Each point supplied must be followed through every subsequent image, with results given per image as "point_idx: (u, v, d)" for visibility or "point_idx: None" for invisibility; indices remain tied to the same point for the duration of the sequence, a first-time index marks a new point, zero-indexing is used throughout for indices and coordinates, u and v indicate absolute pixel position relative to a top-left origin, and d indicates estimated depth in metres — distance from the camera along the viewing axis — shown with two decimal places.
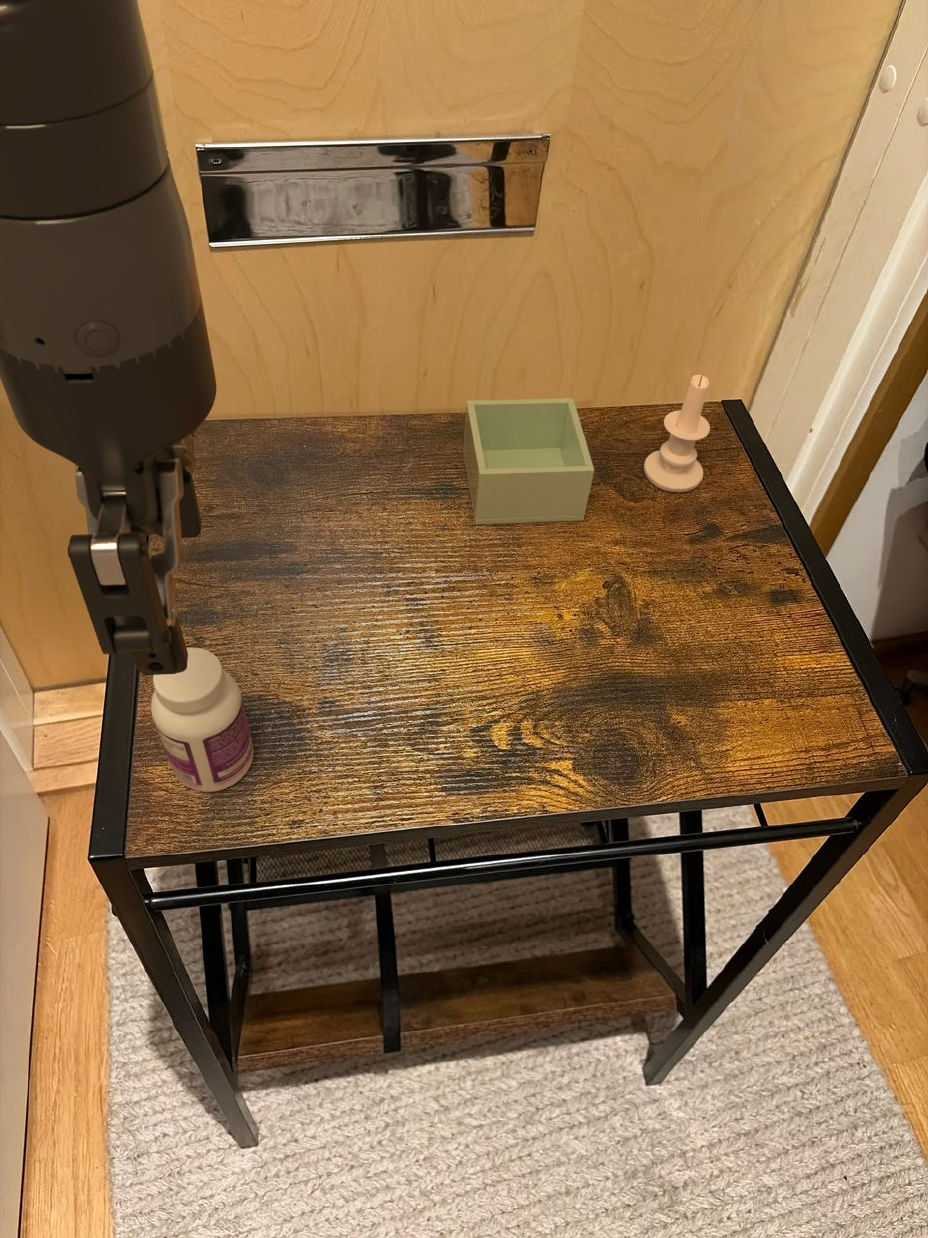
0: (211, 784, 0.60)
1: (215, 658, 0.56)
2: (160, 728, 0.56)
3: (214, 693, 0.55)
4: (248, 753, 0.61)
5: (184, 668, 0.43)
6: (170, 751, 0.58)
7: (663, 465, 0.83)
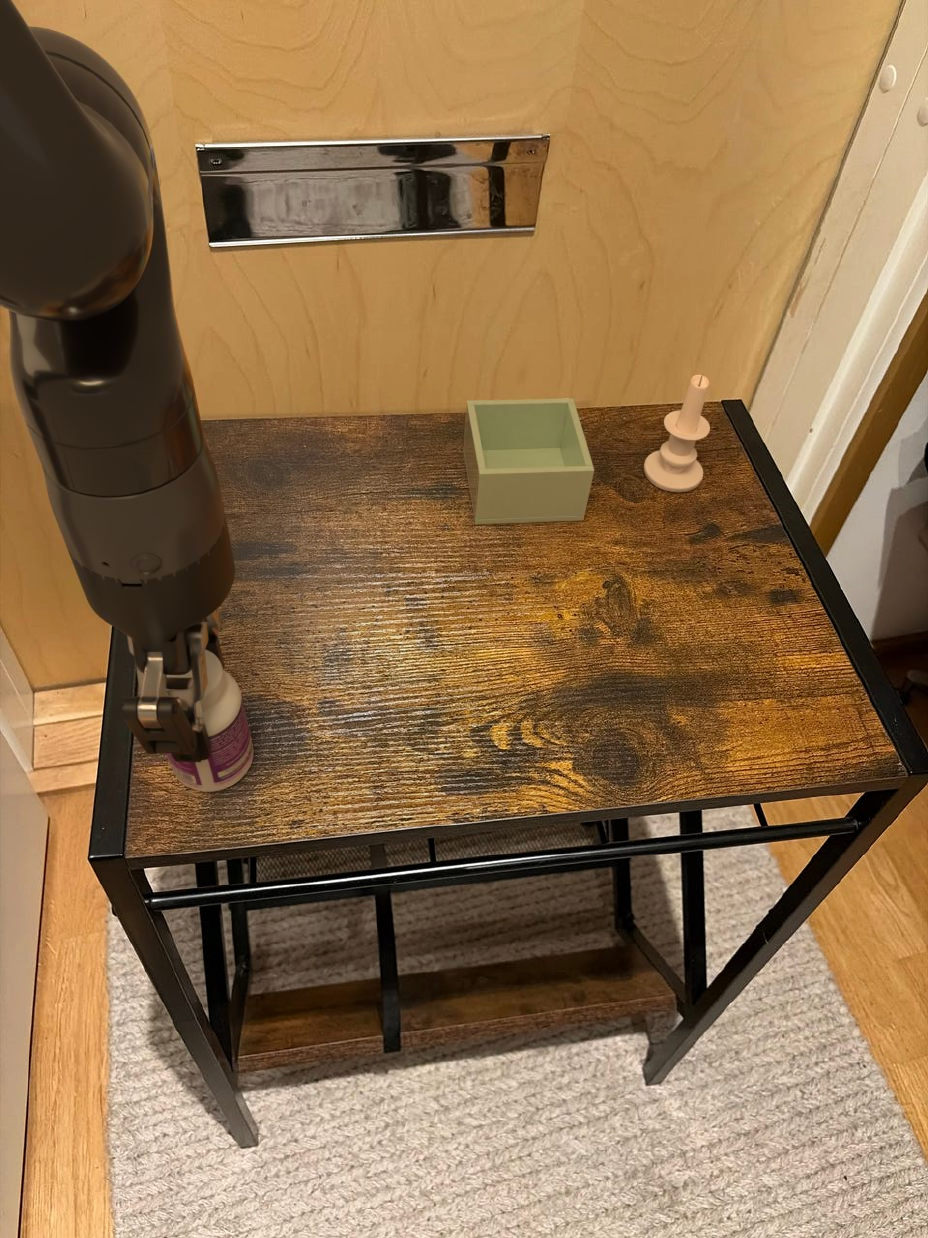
0: (211, 784, 0.60)
1: (215, 658, 0.56)
2: None
3: (214, 693, 0.55)
4: (248, 753, 0.61)
5: (207, 757, 0.56)
6: None
7: (663, 465, 0.83)
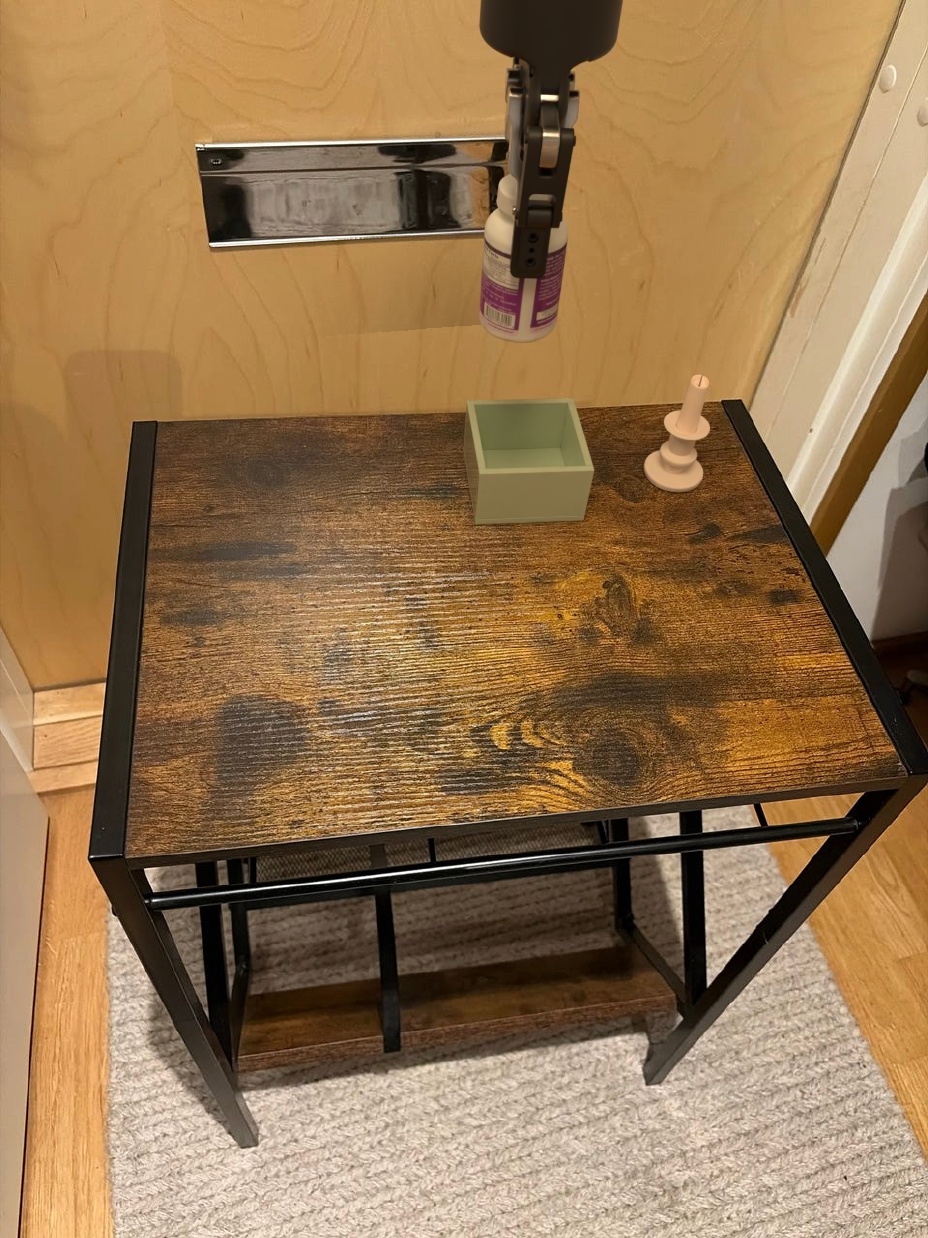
0: (527, 329, 0.63)
1: None
2: (499, 245, 0.59)
3: None
4: (558, 306, 0.63)
5: (542, 274, 0.59)
6: (499, 281, 0.60)
7: (663, 465, 0.83)
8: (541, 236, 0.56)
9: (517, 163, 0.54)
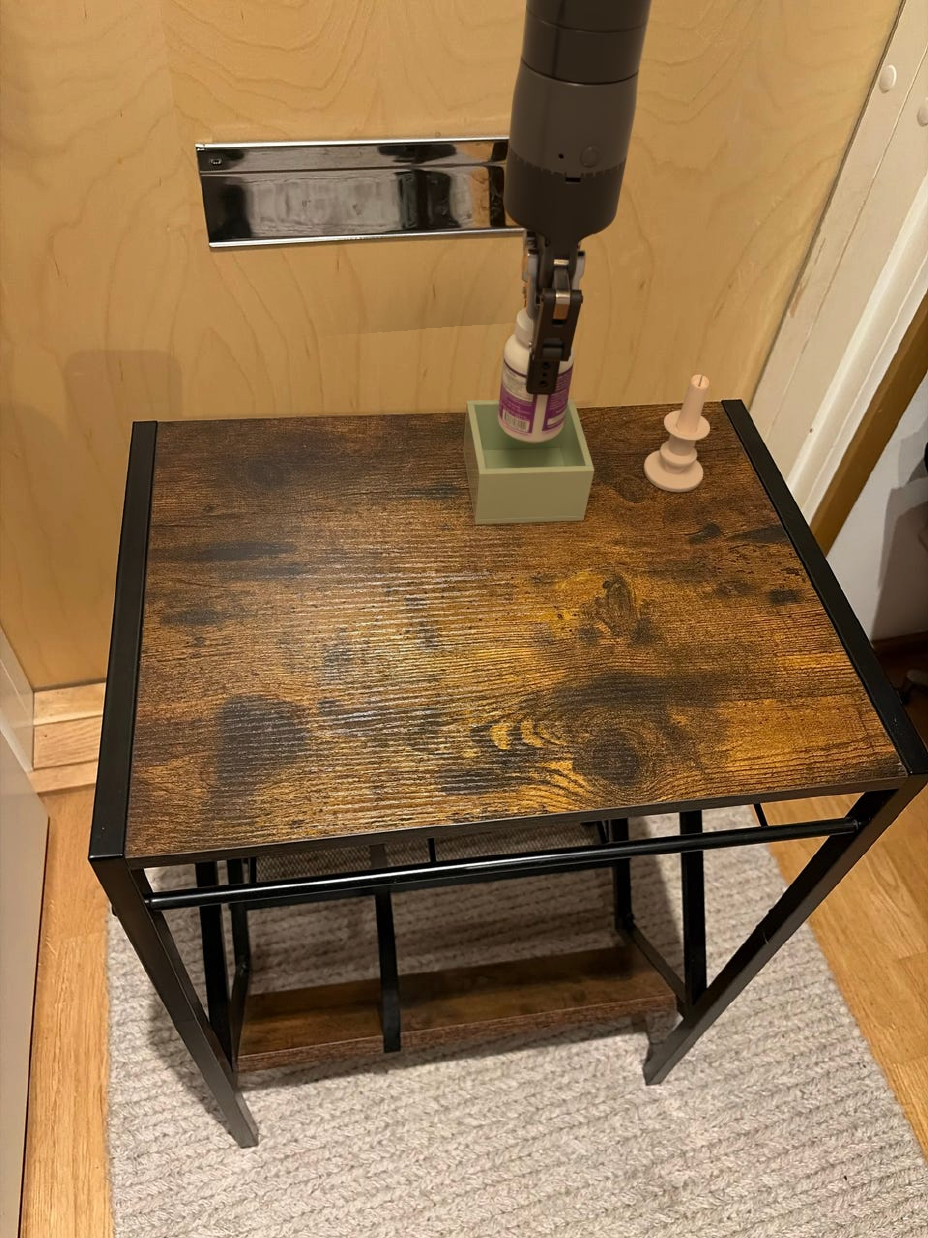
0: (539, 432, 0.73)
1: None
2: (517, 367, 0.69)
3: None
4: (565, 411, 0.74)
5: (553, 391, 0.70)
6: (516, 394, 0.71)
7: (663, 465, 0.83)
8: (552, 364, 0.67)
9: (533, 308, 0.64)
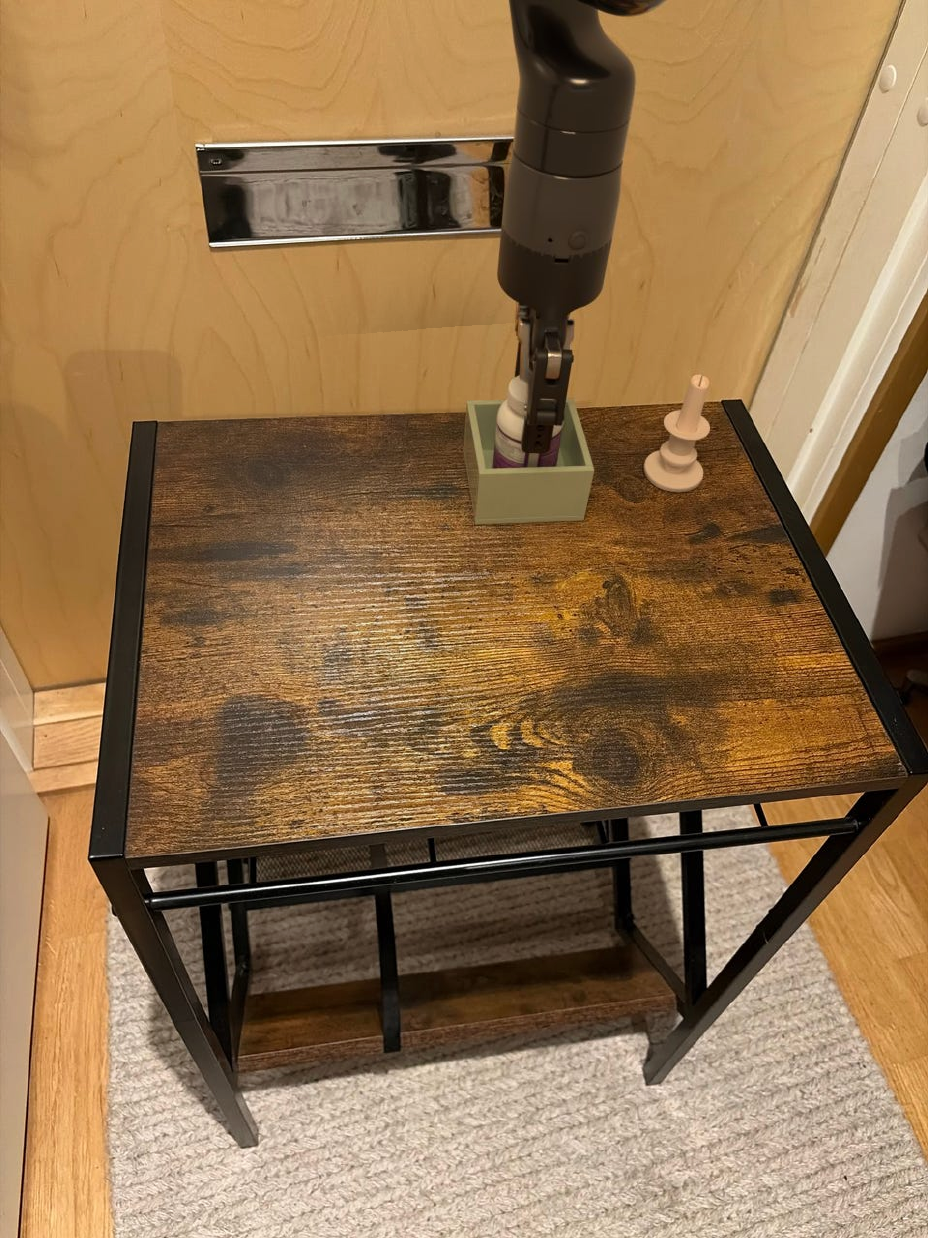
0: None
1: None
2: (509, 432, 0.74)
3: None
4: None
5: (547, 450, 0.72)
6: (509, 456, 0.76)
7: (663, 465, 0.83)
8: (547, 426, 0.70)
9: (527, 372, 0.68)
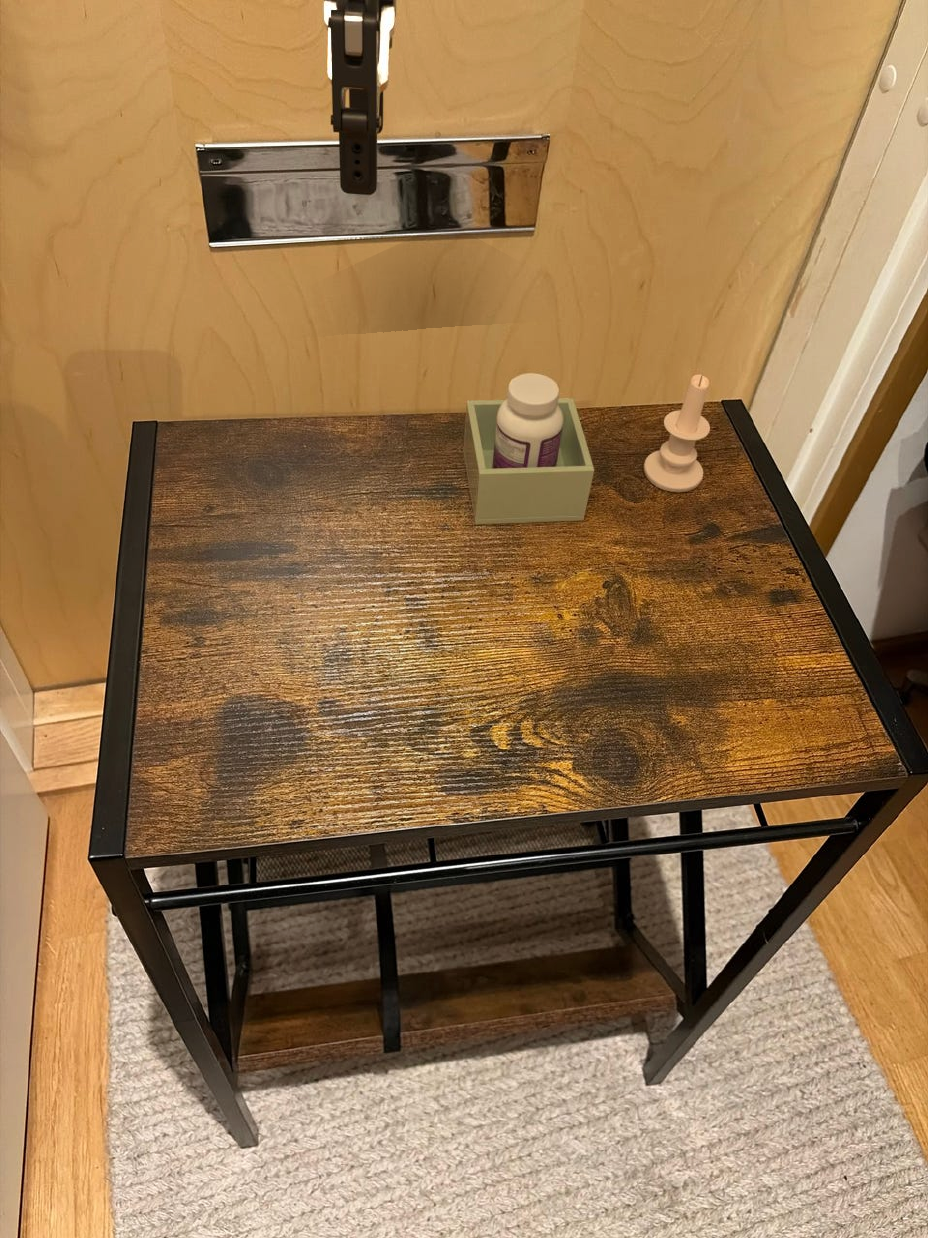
0: None
1: (551, 379, 0.74)
2: (509, 432, 0.74)
3: (555, 401, 0.73)
4: None
5: (374, 190, 0.58)
6: (509, 456, 0.76)
7: (663, 465, 0.83)
8: (365, 147, 0.55)
9: None
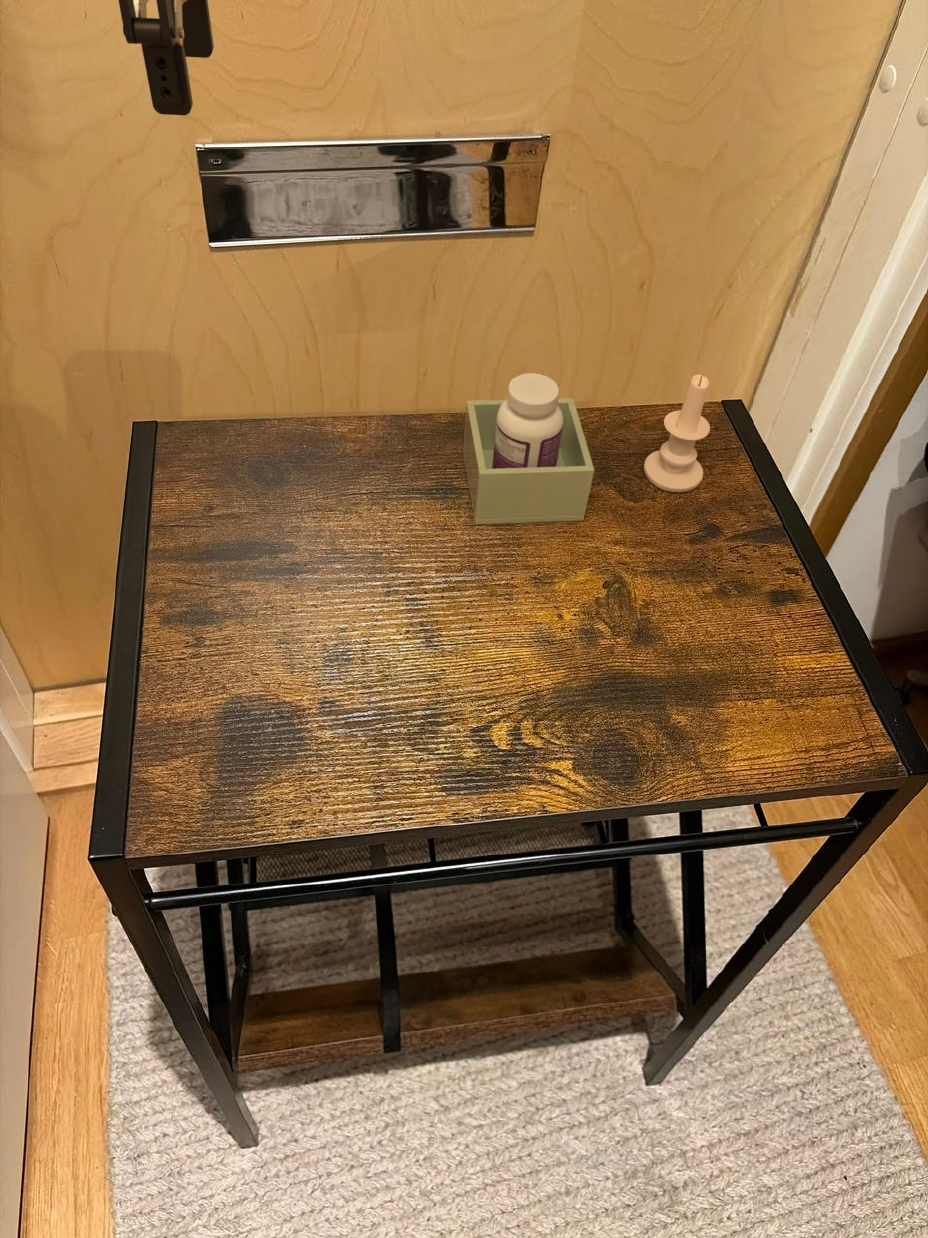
0: None
1: (551, 379, 0.74)
2: (509, 432, 0.74)
3: (555, 401, 0.73)
4: None
5: (189, 110, 0.55)
6: (508, 456, 0.76)
7: (663, 465, 0.83)
8: (169, 61, 0.53)
9: None
